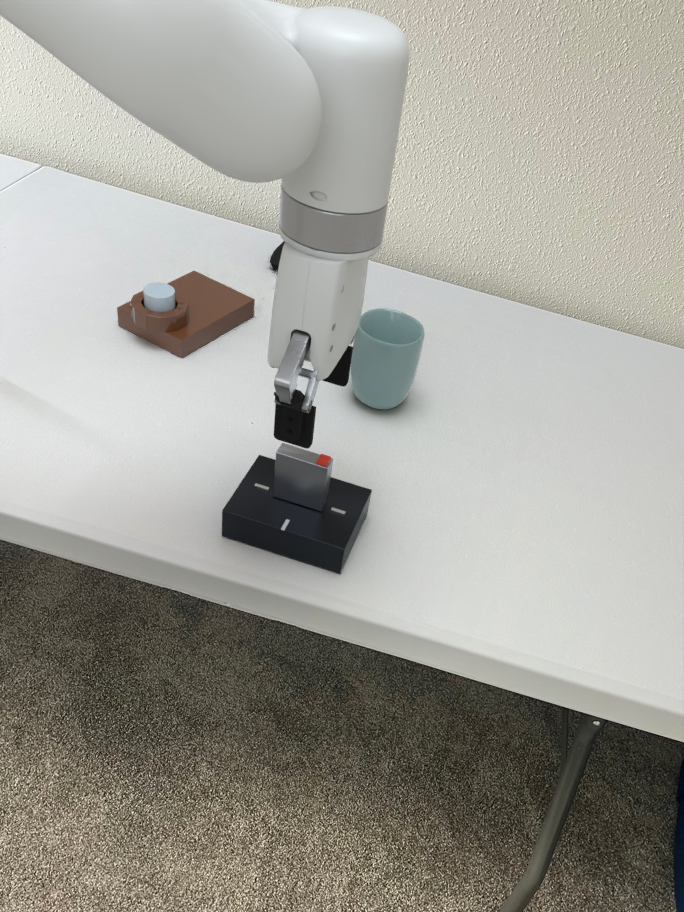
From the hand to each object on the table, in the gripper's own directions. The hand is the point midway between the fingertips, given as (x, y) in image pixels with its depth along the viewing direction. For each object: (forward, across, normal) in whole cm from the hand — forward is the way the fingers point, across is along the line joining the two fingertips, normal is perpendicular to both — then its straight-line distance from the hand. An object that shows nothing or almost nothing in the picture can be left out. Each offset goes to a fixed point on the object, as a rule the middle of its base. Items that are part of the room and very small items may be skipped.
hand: (312, 410), depth 68 cm
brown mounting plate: (+14, -29, -26) cm, 41 cm away
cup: (+14, -24, +1) cm, 28 cm away
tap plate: (+14, 0, 0) cm, 14 cm away
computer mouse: (+14, -52, -19) cm, 57 cm away
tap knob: (+11, 0, 0) cm, 11 cm away
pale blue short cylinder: (+10, -24, -27) cm, 37 cm away
